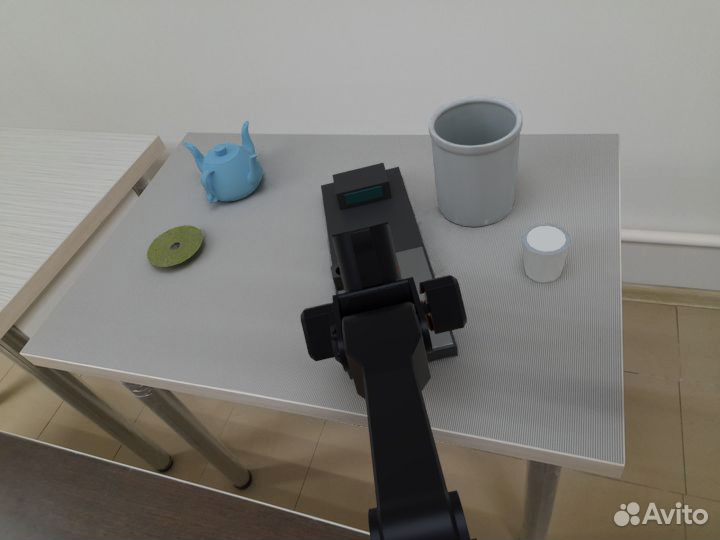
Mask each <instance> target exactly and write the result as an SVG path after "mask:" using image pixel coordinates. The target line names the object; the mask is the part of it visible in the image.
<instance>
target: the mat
mask: <svg viewBox="0 0 720 540" xmlns="http://www.w3.org/2000/svg"><path fill="white" fill-rule="evenodd" d="M203 237H204V236H203V233H202V230H201V229H199V228H198V227H196V226H194V225H181V226H180V225H179V226H175V227H173V228H171V229H168V230H165V231H164V232H162V233H161V234H159V235H158V236H156V237H155V238H154V239H153V240H152V242H151V243H150V245H149V246H148V249H147V251H146V258H147V261H148V262H149V263H150V264H151V265H153V266H155V267H159V268H167V267H173V266H176V265H179V264H182V263H184V262H186V261H187V260H188V259H190V258H191V257H192V256H194V255H195V254H196V252H197V251H198V250H199V249H200V247H201V245H202V243H203V240H204V238H203Z"/></svg>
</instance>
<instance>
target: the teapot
mask: <svg viewBox="0 0 720 540" xmlns="http://www.w3.org/2000/svg"><path fill="white" fill-rule="evenodd" d="M249 126H250V121H249V120H246V121H245V122H244V123H243V124H242V126H241V131H240V133H241V145H239V144H237V143H234V142H225V143H220V144H216V145H215V146H214V147H212V148H211V149H210V150H209V151H207V152H206V154H205V155H204V154H203V153H201V152H202V151H200V149H198V148H197V147H196V145H194V144H193V143H190V142H183V143H182V145H183V147H185V148H186V149H188V150H189V152H190V153H191V155H192V157H193V159H194V162H195V165H196V167H197V168H198V170H199V171H200V172H201V176H200V184H201V186H202V187H203V189H204V192H205V193H206V194H207V196H206V200H207V202H208V203H209V204H215V203H217V202H218V201H220V202H235V201H239V200H242V199H244V198H246V197H248V196H250V195H251V194H253V193H254V192H255V191H256V190H257V188H258V187H259V185H260V183H261V181H262V179H263V176H264V169H263V166H262V165H261V163H260V162H259V160H258V159H257V157H258V155H259V153H256V148H255V145H254V143H253V141H252V138H251V136H250V133H249Z"/></svg>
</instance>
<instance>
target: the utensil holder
mask: <svg viewBox="0 0 720 540" xmlns="http://www.w3.org/2000/svg"><path fill="white" fill-rule="evenodd" d="M523 122H524V121H523V113H522V111H521V109H520V108H519V106H518V105H517V104H515V103H514V102H513V101H511V100H509V99H507V98H504V97H500V96H496V95H488V94H474V95H468V96H462V97H459V98H454V99H452V100H449V101H447V102H445V103H444V104H442V105H441V106H439V107H438V108H437V109H435V111H434V112H433V113H432V114H431V116H430V118H429V120H428V133H429V137H430V139H431V142H430V143H431V151H432V162H433V173H434V181H435V182H434V183H435V190H436V196H437V197H436V198H437V203H438V204H437V205H438V208H439V211H440V213H441V214H442V216H443V217H444V218H446V219H447V220H448V221H450V222H452V223H454V224H456V225H459V226H463V227H470V228H471V227H472V228H473V227H474V228H476V227H485V226H490V225H493V224H496V223H498V222H499V221H502V220H503V219H504V218H506V217H507V216H508V215H509V214H510V213H511V211H512V210H513V208H514V205H515V198H516V189H517V188H516V187H517V179H518V165H519V152H520V140H521V131H522V128H523Z"/></svg>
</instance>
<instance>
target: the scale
mask: <svg viewBox="0 0 720 540" xmlns="http://www.w3.org/2000/svg"><path fill="white" fill-rule="evenodd" d="M331 176H332V181H333V182H330V183H325V184H321V185H320V190H321V196H322V203H323V204H322V205H323V211H324V219H325V225H326V231H327V238H328V239H327V240H328V246H329V247H328V248H329V253H330V261H331V266H332V265H333V264H337V263H338V260H337V256H336V252H335V248H334V244H333V239H332V235H336V234H340V233H344V232H348V231H353V230H357V229H361V228H365V227H369V226H374V225H378V224H382V223H386V222H389V226H390V231H391V235H392V239H393V243H394V248H395V252H396V256H397V261H398V264H399V265H400V268H401V273H402V278H403V279H405V278H409V277H413V278H414V282H415V285H416V288H417V291H418V295H419V294H420V292H419V283H420V282H423V281H427V280H430V279H435V278H436V277H435V276H436V275H435V274H434V270H433V268H432V264H431V261H430V259H429V255H428V252H427V249H426V246H425V243H424V240H423V237H422V233H421V231H420V227H419V224H418V222H417V218H416V215H415V212H414V208H413V206H412V202H411V200H410V197H409V194H408V191H407V187H406V185H405V184H406V183H405V182H404V179H403V175H402V172H401V169H400V166H396V167H391V168H388V169H386V167H385V162H379V163H376V164H372V165H367V166H364V167H359V168H355V169H351V170H346V171H342V172H338V173H334V174H332V175H331ZM334 287H335V286H334ZM334 289H335V295H336V294H341V293H345V291H344V290H342V291H337V289H336V287H335V288H334ZM428 329H429V328H428ZM429 333H430V337H431V342H432V347H433V352H432V353H428V354H426V356H427V360H428V363H430V362H433V361H438V360H443V359H447V358H451V357H452V358H453V357H457V356H458V355H459V350H458V344H457V341H456V338H455V335H454V331H453V330H452V331H447V332H443V333H439V334H435V333H434V331H430V329H429ZM347 374H348V375H347V376H348V378H349V380H353V377H352V374H351V371H348V372H347Z"/></svg>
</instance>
